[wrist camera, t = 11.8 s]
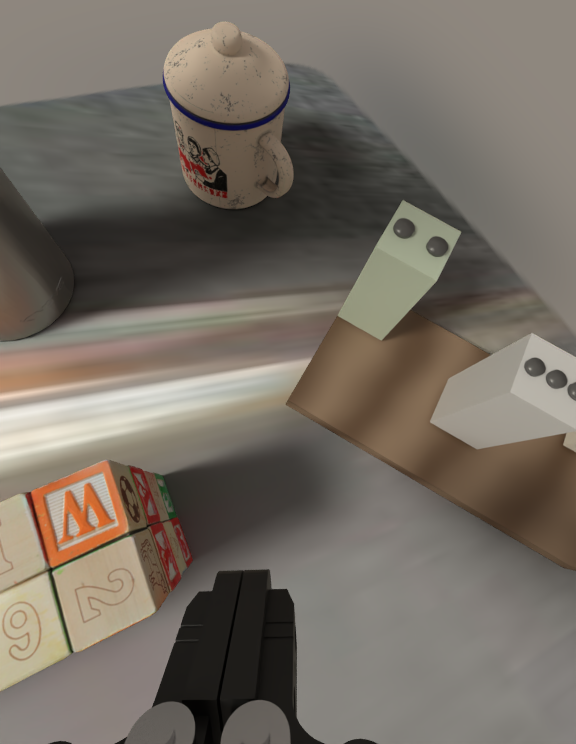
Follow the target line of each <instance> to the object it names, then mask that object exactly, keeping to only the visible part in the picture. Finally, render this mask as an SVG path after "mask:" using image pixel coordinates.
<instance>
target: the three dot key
mask: <svg viewBox="0 0 576 744" xmlns="http://www.w3.org/2000/svg"><path fill="white" fill-rule="evenodd" d="M430 423H432V424H434V425H436V426H437V427H439V428H441V429H442V430H444V431H446V432H448V433H449V434H451V435H453V436H455V437H456V438H458V439H460V440H462V441H463V442H465V443H467V444H468V445H470V446H472V447H474V448H475V449H482V448H487V447H493V446H498V445H504V444H509V443H515V442H520V441H526V440H531V439H536V438H542V437H547V436H553V435H558V434H564V433H569V432H575V431H576V357H574V356H572V355H571V354H569V353H567V352H565V351H563V350H562V349H560V348H558V347H556V346H554V345H553V344H551V343H549V342H547V341H545V340H544V339H542V338H540V337H538V336H536V335H535V334H533V333H531V334H529V335H527V336H525V337H523V338H522V339H520V340H518V341H516V342H514V343H513V344H511V345H509V346H507V347H505V348H503V349H502V350H500V351H498V352H496V353H494V354H492V355H491V356H489V357H487V358H485V359H483V360H481V361H480V362H478V363H476V364H474V365H472V366H471V367H469V368H467V369H465V370H463V371H461V372H460V373H458V374H456V375H454V376H452V377H450V378H449V379H448V381H447V383H446V386H445V388H444V390H443V392H442V395H441V397H440V399H439V402H438V404H437V406H436V408H435V411H434V413H433V415H432V418H431V420H430Z"/></svg>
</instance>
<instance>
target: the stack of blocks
mask: <svg viewBox="0 0 576 744" xmlns="http://www.w3.org/2000/svg"><path fill="white" fill-rule="evenodd" d="M192 561H193V559H192V556H191V553H190V550H189V547H188V545H187V542H186V539H185V536H184V533H183V531H182V528H181V525H180V522H179V519H178V518H177V516H176V513H175V510H174V507H173V504H172V501H171V498H170V495H169V492H168V490H167V487H166V484H165V481H164V478H163V476H162V475H159V474H156V473H150V472H147V471H143V470H142V469H140V468H136V467H134V466H130V465H128V466H125V465H122V464H120V463H117V462H113V461H110V460H104V461H101V462H99V463H96V464H94V465H92V466H89V467H87V468H84V469H82V470H80V471H77V472H75V473H73V474H70V475H68V476H66V477H63V478H61V479H58V480H56V481H53V482H51V483H49V484H46V485H44V486H41V487H39V488H36V489H34V490H33V491H32V492H26V493H21V494H18V495H16V496H13V497H11V498H9V499H6V500H4V501H2V502H0V692H1V691H2V690H4V689H6V688H8V687H10V686H12V685H14V684H16V683H18V682H20V681H21V680H23V679H25V678H27V677H29V676H31V675H33V674H35V673H37V672H39V671H41V670H43V669H45V668H47V667H49V666H51V665H53V664H55V663H57V662H59V661H61V660H63V659H64V658H66V657H68V656H69V655H70V654H72V653H73V652H80V651H82V650H84V649H86V648H88V647H90V646H92V645H94V644H96V643H98V642H100V641H102V640H104V639H106V638H108V637H110V636H112V635H114V634H116V633H118V632H120V631H122V630H124V629H126V628H128V627H130V626H132V625H134V624H136V623H138V622H140V621H142V620H144V619H146V618H148V617H149V616H151V615H152V614H154V613H155V612H157V611H158V609H159V608H160V607H161V605H162V603H163V602H164V600H165V599H166V597H167V595H168V594H169V593H170V592H172V591H173V590H174V588H175V587H176V586H177V584H178V583H179V581H180V579H181V576H182V574H183V573H184V571H185V570H186V569H187V568H188V567H189V565H190V564H191V563H192Z"/></svg>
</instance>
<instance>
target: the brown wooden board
mask: <svg viewBox="0 0 576 744" xmlns="http://www.w3.org/2000/svg"><path fill="white" fill-rule="evenodd" d="M489 356H491V355H490V354H488V353H486V352H485V351H483V350H481V349H479V348H477V347H476V346H474V345H472V344H470V343H468V342H467V341H465V340H463V339H461V338H460V337H458V336H456V335H454V334H452V333H451V332H449V331H447V330H445V329H444V328H442V327H440V326H438V325H436V324H435V323H433V322H431V321H429V320H428V319H426V318H424V317H422V316H420V315H419V314H417V313H415V312H413V311H412V310H409V312H408V313H407V314H406V315H405V316H404V317H403V318H402V319H401V320H400V321H399V322H398V323H397V324H396V326H395V327H394V328H393V329H392V330H391V331H390V332H389V333H388V334H387V335H386V336H385V337H384V338H383V340H382V341H381V340H379V339H377V338H376V337H374V336H372V335H370V334H369V333H367V332H365V331H363V330H362V329H360V328H358V327H356V326H355V325H353V324H351V323H349V322H348V321H346V320H344V319H342V318H341V317H339V316H337V317H336V319H335V321H334V322H333V324H332V326H331V328H330V329H329V331H328V333H327V334H326V336H325V338H324V339H323V341H322V343H321V345H320V346H319V348H318V350H317V351H316V353H315V355H314V356H313V358H312V360H311V362H310V363H309V365H308V367H307V368H306V370H305V372H304V373H303V375H302V377H301V379H300V380H299V382H298V384H297V385H296V387H295V389H294V390H293V392H292V394H291V396H290V397H289V399H288V401H287V403H286V405H287V406H289V407H291V408H292V409H294V410H296V411H298V412H299V413H301V414H303V415H304V416H306V417H308V418H310V419H311V420H313V421H315V422H316V423H318V424H320V425H321V426H323V427H325V428H327V429H328V430H330V431H332V432H333V433H335V434H337V435H338V436H340V437H342V438H344V439H345V440H347V441H349V442H350V443H352V444H354V445H355V446H357V447H359V448H361V449H362V450H364V451H366V452H367V453H369V454H371V455H373V456H374V457H376V458H378V459H379V460H381V461H383V462H384V463H386V464H388V465H390V466H391V467H393V468H395V469H396V470H398V471H400V472H401V473H403V474H405V475H407V476H408V477H410V478H412V479H413V480H415V481H417V482H418V483H420V484H422V485H424V486H425V487H427V488H429V489H430V490H432V491H434V492H436V493H437V494H439V495H441V496H442V497H444V498H446V499H447V500H449V501H451V502H453V503H454V504H456V505H458V506H459V507H461V508H463V509H464V510H466V511H468V512H470V513H471V514H473V515H475V516H476V517H478V518H480V519H482V520H483V521H485V522H487V523H488V524H490V525H492V526H493V527H495V528H497V529H499V530H500V531H502V532H504V533H505V534H507V535H509V536H510V537H512V538H514V539H516V540H517V541H519V542H521V543H522V544H524V545H526V546H527V547H529V548H531V549H533V550H534V551H536V552H538V553H539V554H541V555H543V556H545V557H546V558H548V559H550V560H551V561H553V562H555V563H556V564H558V565H560V566H562V567H563V568H566V569H570V570H574V571H576V452H574V451H573V450H571V449H569V448H567V447H566V446H564V445H563V443H564V440H565V437H566V433H564V434H558V435H553V436H547V437H542V438H536V439H531V440H526V441H520V442H515V443H509V444H504V445H498V446H493V447H487V448H482V449H475V448H474V447H472V446H470V445H468V444H467V443H465V442H463V441H462V440H460V439H458V438H456V437H455V436H453V435H451V434H449V433H448V432H446V431H444V430H442V429H441V428H439V427H437V426H436V425H434V424H432V423H430V420H431V418H432V415H433V413H434V411H435V408H436V406H437V404H438V402H439V399H440V397H441V395H442V392H443V390H444V388H445V386H446V383H447V381H448V379H449V378H450V377H452V376H454V375H456V374H458V373H460V372H461V371H463V370H465V369H467V368H469V367H471V366H472V365H474V364H476V363H478V362H480V361H481V360H483V359H485V358H487V357H489Z"/></svg>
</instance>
